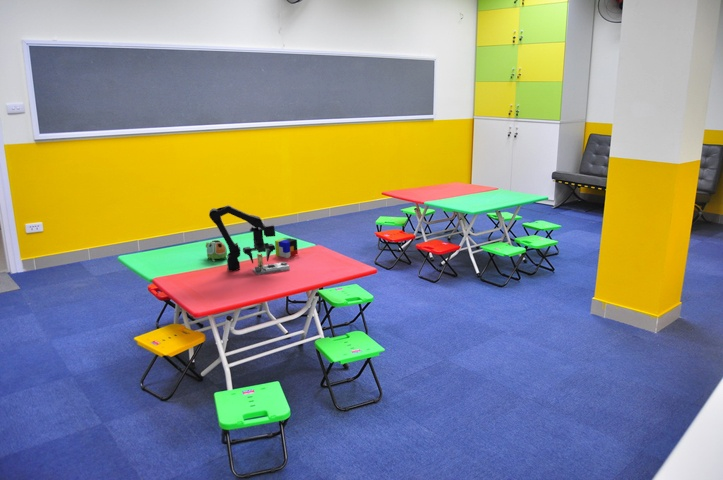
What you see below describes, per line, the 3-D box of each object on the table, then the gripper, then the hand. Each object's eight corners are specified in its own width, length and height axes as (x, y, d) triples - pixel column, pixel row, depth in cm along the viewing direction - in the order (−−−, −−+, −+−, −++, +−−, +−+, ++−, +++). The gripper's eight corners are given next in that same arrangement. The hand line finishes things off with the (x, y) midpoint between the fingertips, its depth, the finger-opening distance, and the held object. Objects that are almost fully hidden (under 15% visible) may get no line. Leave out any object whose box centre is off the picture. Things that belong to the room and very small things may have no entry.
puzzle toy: (286, 258, 367) (286, 243, 364) (275, 255, 373) (274, 240, 370) (297, 254, 375) (296, 239, 372) (286, 252, 381) (285, 237, 378)
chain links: (256, 274, 335) (256, 269, 334) (253, 270, 343) (252, 265, 342) (289, 269, 343) (289, 264, 342) (285, 265, 351) (284, 261, 350)
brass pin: (258, 267, 348) (257, 255, 346) (257, 266, 351) (256, 254, 349) (263, 267, 349) (262, 254, 347) (262, 265, 352) (261, 253, 350)
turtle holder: (217, 253, 381) (215, 236, 378) (231, 258, 369) (229, 241, 365) (200, 257, 373) (198, 240, 370) (214, 263, 360) (212, 245, 357)
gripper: (246, 242, 335) (248, 268, 339) (276, 238, 342) (278, 263, 346) (241, 238, 344) (243, 263, 348) (271, 234, 352) (273, 258, 356)
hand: (260, 262), depth 349 cm, fingers open, 9 cm apart
